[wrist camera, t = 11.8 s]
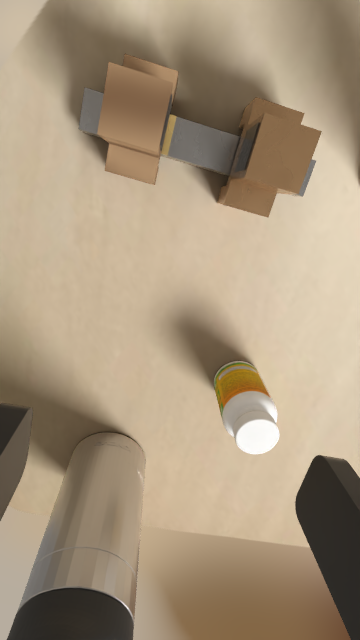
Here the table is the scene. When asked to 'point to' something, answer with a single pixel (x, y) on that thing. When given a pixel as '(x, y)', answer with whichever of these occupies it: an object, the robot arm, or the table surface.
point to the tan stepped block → (136, 116)
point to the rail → (184, 140)
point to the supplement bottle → (246, 407)
